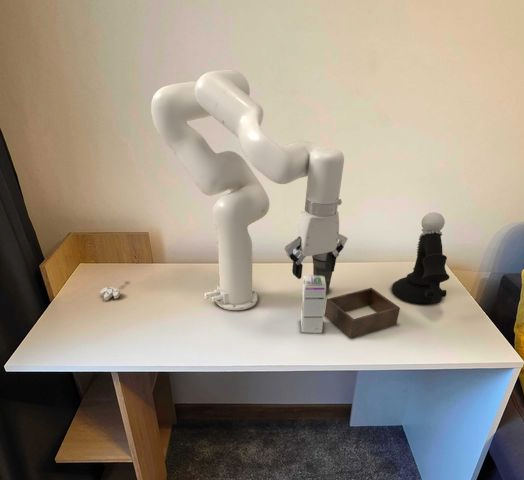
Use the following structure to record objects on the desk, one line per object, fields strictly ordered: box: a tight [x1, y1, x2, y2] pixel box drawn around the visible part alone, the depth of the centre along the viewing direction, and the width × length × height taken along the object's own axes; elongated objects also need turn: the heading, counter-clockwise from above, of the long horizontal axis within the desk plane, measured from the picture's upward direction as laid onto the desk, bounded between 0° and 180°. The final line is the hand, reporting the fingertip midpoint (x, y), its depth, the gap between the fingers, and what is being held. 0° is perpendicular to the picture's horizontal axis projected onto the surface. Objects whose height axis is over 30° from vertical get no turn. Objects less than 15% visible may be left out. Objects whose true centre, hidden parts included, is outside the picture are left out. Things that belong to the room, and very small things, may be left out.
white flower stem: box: [99, 281, 126, 302], centre depth 138 cm, size 6×12×3 cm, turn 179°
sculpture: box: [391, 211, 451, 306], centre depth 130 cm, size 15×24×25 cm, turn 0°
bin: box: [324, 287, 401, 339], centre depth 126 cm, size 16×13×6 cm
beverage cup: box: [311, 252, 338, 295], centre depth 135 cm, size 7×7×20 cm
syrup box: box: [300, 274, 327, 334], centre depth 120 cm, size 6×6×14 cm
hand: (313, 273), depth 115 cm, fingers open, 9 cm apart
